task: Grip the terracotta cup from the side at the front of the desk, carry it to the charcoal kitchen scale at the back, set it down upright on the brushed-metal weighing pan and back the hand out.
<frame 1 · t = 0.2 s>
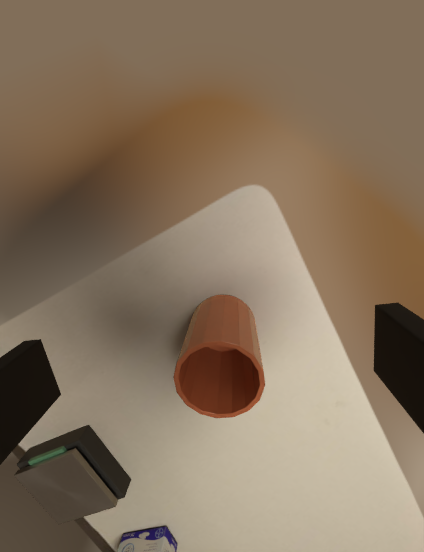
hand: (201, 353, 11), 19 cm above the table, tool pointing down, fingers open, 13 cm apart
cup: (223, 323, 31), on the table
scale base: (80, 463, 39), on the table
box: (150, 536, 43), on the table
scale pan: (66, 488, 36), point 3 cm above the table, slide at 0.0 cm
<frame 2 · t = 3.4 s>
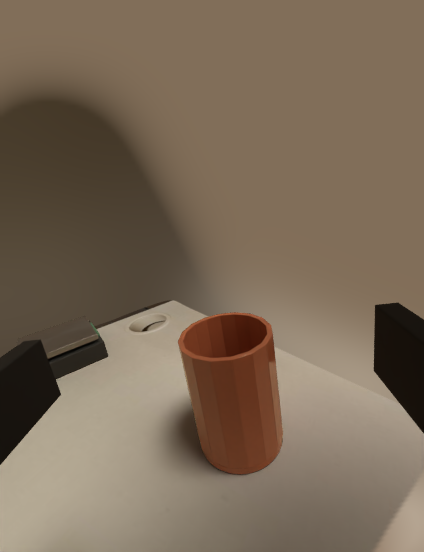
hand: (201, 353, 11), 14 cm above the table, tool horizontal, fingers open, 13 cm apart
cup: (240, 433, 24), on the table
scale base: (63, 358, 42), on the table
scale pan: (56, 338, 41), point 3 cm above the table, slide at 0.0 cm
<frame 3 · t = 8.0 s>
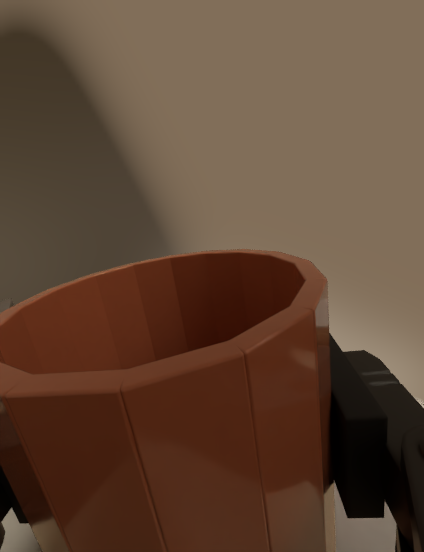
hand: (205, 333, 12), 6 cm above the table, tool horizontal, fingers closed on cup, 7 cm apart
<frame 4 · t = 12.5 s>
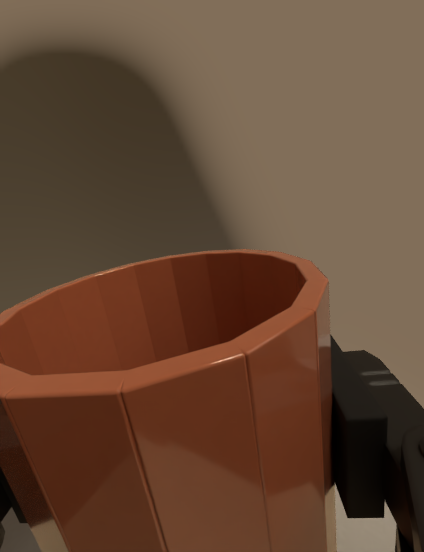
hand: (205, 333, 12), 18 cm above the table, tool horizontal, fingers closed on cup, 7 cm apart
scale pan: (78, 508, 20), point 3 cm above the table, slide at 0.0 cm
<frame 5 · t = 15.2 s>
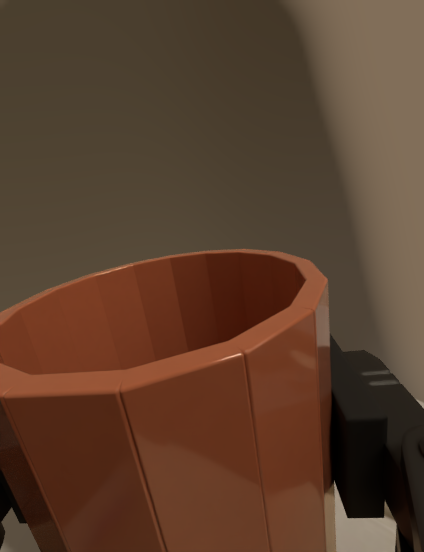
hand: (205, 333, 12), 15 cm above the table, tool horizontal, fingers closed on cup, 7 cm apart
when the fingers open (10 cm above the table, at t = 17.0 s): cup stays where it is, resting on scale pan.
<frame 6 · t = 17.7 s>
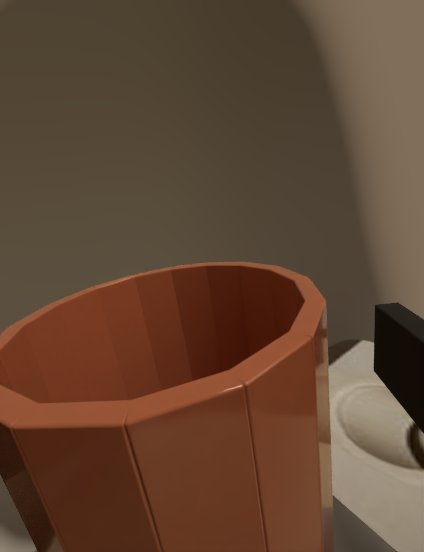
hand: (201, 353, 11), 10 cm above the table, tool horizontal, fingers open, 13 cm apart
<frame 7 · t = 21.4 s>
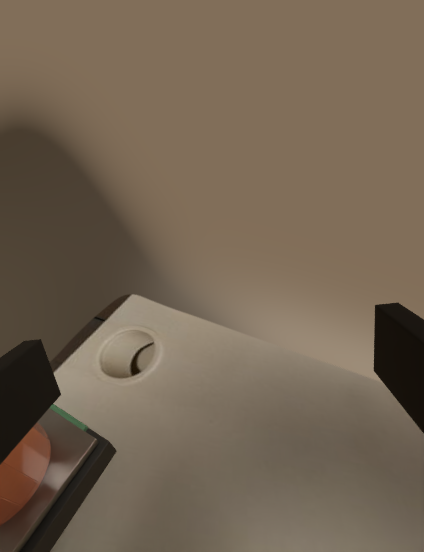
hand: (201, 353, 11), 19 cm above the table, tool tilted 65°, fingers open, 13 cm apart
cup: (0, 472, 21), point 4 cm above the table, touching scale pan
scale base: (25, 484, 23), on the table
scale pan: (3, 473, 21), point 3 cm above the table, slide at 0.0 cm, touching cup, scale base
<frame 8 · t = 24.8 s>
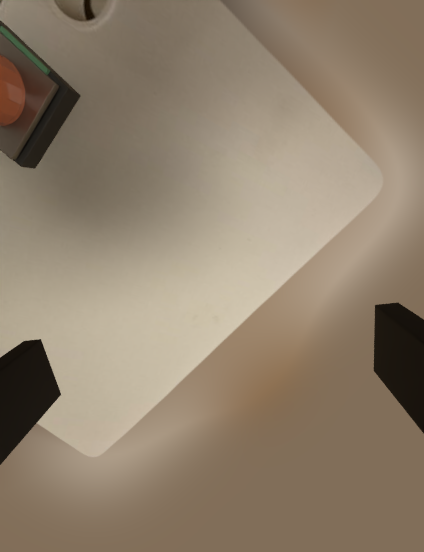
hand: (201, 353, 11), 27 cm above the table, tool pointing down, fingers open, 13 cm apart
scale base: (20, 100, 33), on the table
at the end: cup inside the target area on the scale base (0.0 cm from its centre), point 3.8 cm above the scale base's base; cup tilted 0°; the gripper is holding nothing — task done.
